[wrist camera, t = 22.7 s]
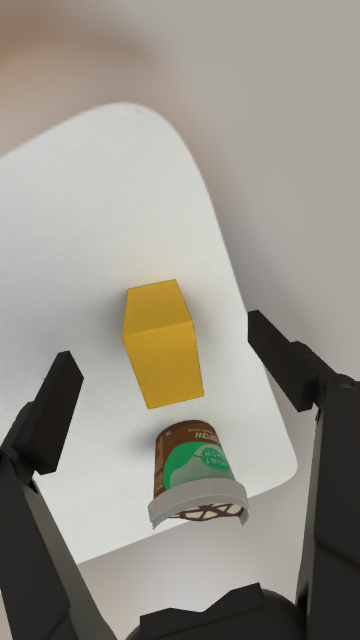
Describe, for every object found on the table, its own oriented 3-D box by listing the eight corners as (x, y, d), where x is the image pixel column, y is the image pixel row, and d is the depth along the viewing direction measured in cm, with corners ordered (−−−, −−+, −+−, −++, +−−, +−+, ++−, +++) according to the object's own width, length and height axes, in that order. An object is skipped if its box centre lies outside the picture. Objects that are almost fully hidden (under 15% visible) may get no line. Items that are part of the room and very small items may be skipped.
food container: (238, 420, 33) (273, 500, 24) (220, 445, 35) (246, 525, 27) (159, 409, 29) (168, 500, 20) (146, 438, 31) (148, 530, 23)
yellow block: (127, 288, 20) (121, 336, 13) (175, 278, 21) (192, 320, 14) (145, 348, 24) (147, 410, 17) (186, 339, 24) (204, 396, 17)
